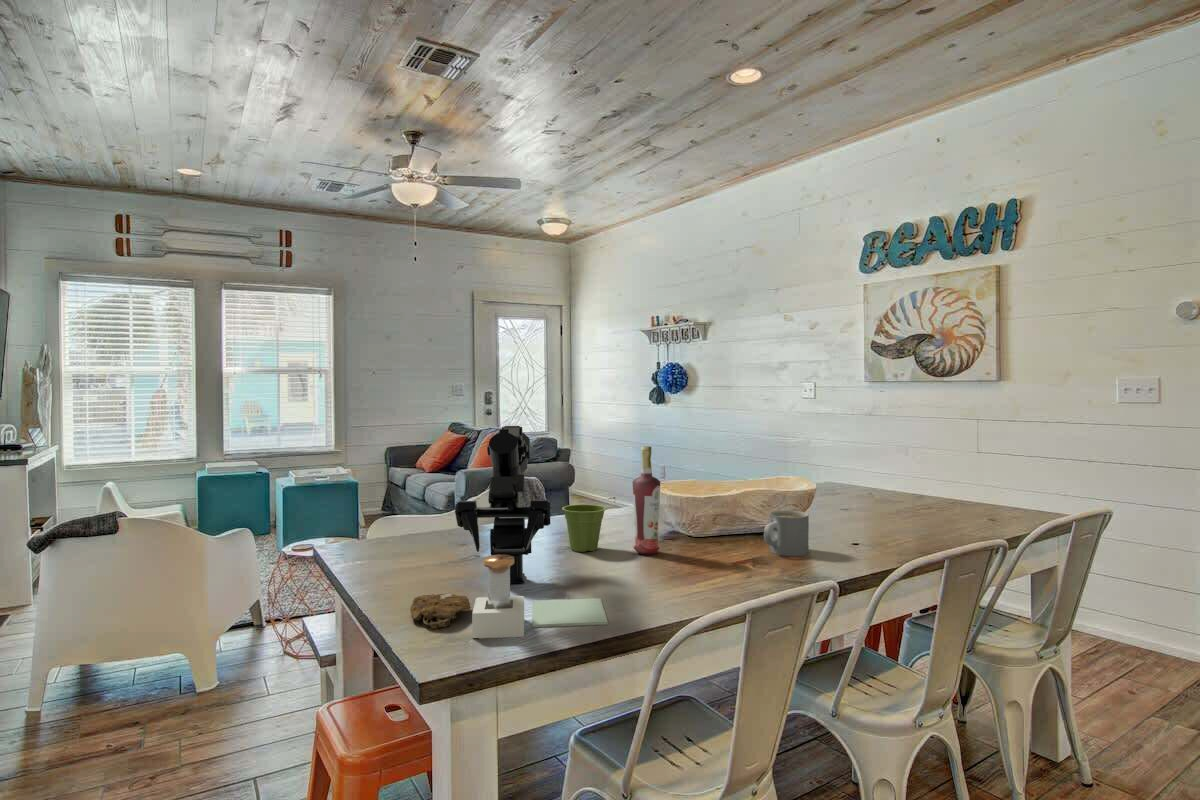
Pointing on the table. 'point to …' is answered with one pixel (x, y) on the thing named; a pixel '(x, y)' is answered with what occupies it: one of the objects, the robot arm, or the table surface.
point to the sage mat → (568, 612)
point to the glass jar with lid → (498, 580)
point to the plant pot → (584, 526)
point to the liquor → (646, 507)
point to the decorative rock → (438, 608)
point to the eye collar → (498, 619)
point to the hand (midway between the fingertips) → (501, 550)
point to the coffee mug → (787, 533)
